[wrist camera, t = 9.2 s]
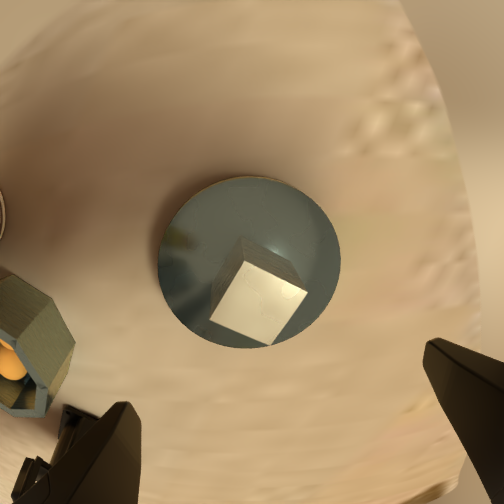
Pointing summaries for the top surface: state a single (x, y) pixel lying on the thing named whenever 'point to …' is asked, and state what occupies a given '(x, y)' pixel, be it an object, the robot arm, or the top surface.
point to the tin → (32, 348)
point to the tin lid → (249, 262)
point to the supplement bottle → (2, 215)
